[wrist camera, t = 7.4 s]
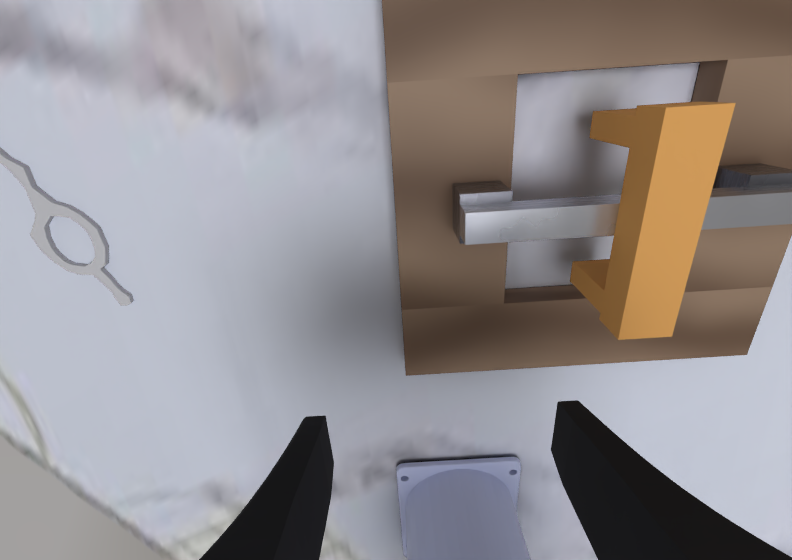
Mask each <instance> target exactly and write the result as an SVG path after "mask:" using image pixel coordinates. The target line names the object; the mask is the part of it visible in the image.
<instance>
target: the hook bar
mask: <svg viewBox="0 0 792 560" xmlns="http://www.w3.org/2000/svg"><path fill="white" fill-rule="evenodd" d="M512 196H513V191H512V190H511V189H510V188H508V187H507V186H506V185H505V184H504V183H502V182H501V181H500V180H497V181H481V182H466V183H453V230H454V232H455V235H456V237H457V239H458V241H459V243H460V244H465V245H471V244H487V243H503V242H518V241H534V240H549V239H565V238H581V237H596V236H612V235H614V233H615V227H616V222H617V216H618V210H619V205H620V199H621V194H618V195H602V196H587V197H571V198H556V199H541V200H525V201H512ZM783 224H792V169H787V168H782V167H777V166H772V165H767V164H762V163H756V164H740V165H725V166H718V170H717V173H716V177H715V181H714V184H713V188H712V192H711V195H710V199H709V203H708V206H707V210H706V214H705V217H704V221H703V225H702V228H701V230H705V229H721V228H737V227H752V226H768V225H783Z"/></svg>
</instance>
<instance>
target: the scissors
mask: <svg viewBox="0 0 792 560" xmlns="http://www.w3.org/2000/svg"><path fill="white" fill-rule="evenodd" d="M0 163H1V164H2V165H3V166H4V167H5V168H7V169H8V170H9V171H10V172H11V173H12V174H13V175H14V176H15V178H16V179H17V180H18V181H19V182H20V184H21V185H22V186H23V187H24V188H25V190H26V192H27V195H28V197H29V199H30V202H31V204H32V207H33V209H34V211H35V221H34V224H33V228H32V231H31V234H30V236H31V237H32V239H33V240H34V242H35V243H36V244H37V246H38V247H39V249H40V250H41V251H42V252H43V253H44V254H45V255H46V256H47V257H48V258H50V259H51V260H52V261H53V262H54V263H56V264H57V265H59V266H61V267H62V268H64V269H65V270H67V271H69V272H72V273H76V274H82V275H93V276H94V277H96V278H97V279H98V280H99V281H100V282H101V283H102V284H103V285H104V286H106V287H107V288H108V289H109V290H110V291H111V292H112V293H113V296H114V298H115V299H116V300H117V301H118V302H119V304H120V305H121V306H124V305H129V304H130V303H132V302H133V301H134V299H133V296H132V294H131V293H129V292H128V291H126V290H125V289H124V288H123V287H122V286H120V285H119V283H118V282H117V281H116V280H115V278H114V277H113V276H112V275H111V274H110V273H109V272H108V271H107V270H106V269H105V268H104V266H105V265H107V264H108V263H109V245H108V243H107V240H106V238H105V236H104V233H103V231H102V229H101V227H100V226H99V225H98V224H97V223H96V222H95V221H94V220H92V219H91V218H90V217H89V216H87V215H86V214H85V213H84V212H82V211H80V210H78V209H77V208H75V207H73V206H71V205H68V204H64V203H61V202H58V201H56V200H55V199H53V198H52V197H51V196H50V195H48V194H47V193H46V192H44V191H43V190H42V189H41V188H39V187H38V186H37V185H36V182H35V180H34V177H33V175H32V172H31V170H30V168H29V166H27V165H25V164H23V163H21V162H20V161H18V160H16V159H14V158H12V157H11V156H10V155H8V154H7V153H6V152H5V151H4V150H3V149H2V148H0ZM54 216H57V217H68V218H71V219H72V220H73V221H75V222H76V223H78V224H79V225H80V226H81V227H82V228H83V229H84V230H85V231H86V232H87V233H88V235H89V236H90V238H91V240H92V243H93V246H94V250H95V258H94V259H93V261H92V262H91V263H90V264H81V263H75V262H73V261H71V260H69V259H67V258H66V257H65V256H64V255H63V254H62V253H61V252H60V251H59V250H58V249H57V247H56V246H55V243H54V241H53V239H52V237H51V233H50V229H49V224H50V222H51V220H52V219H53V217H54Z"/></svg>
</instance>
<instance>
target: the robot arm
mask: <svg viewBox="0 0 792 560" xmlns="http://www.w3.org/2000/svg"><path fill="white" fill-rule="evenodd" d="M551 451H552V454H553V457H554V461H555V464H556V467H557V470H558V473H559V475H560V478H561V481H562V484H563V486H564V488H565V490H566V493H567V495H568V497H569V499H570V501H571V503H572V505H573V507H574V510H575V512H576V514H577V516H578V518H579V520H580V522H581V524H582V526H583V529H584V531H585V533H586V535H587V537H588V539H589V541H590V543H591V545H592V548H593V550H594V552H595V554H596V556H597V558H598V560H792V557H790V556H788V555H786V554H785V553H783V552H781V551H780V550H778V549H776V548H774V547H773V546H771V545H769V544H767V543H766V542H764V541H762V540H761V539H759V538H757V537H756V536H754V535H752V534H751V533H749V532H748V531H746V530H744V529H743V528H741V527H739V526H738V525H736V524H734V523H733V522H731V521H730V520H728V519H727V518H725V517H724V516H722V515H720V514H719V513H717V512H716V511H714V510H713V509H711V508H710V507H709V506H707V505H706V504H704V503H703V502H701V501H700V500H698V499H697V498H695V497H694V496H693V495H691V494H690V493H688V492H687V491H685V490H684V489H683V488H681V487H680V486H679V485H677V484H676V483H675V482H673V481H672V480H671V479H669V478H668V477H667V476H665V475H664V474H663V473H662V472H660V471H659V470H658V469H656V468H655V467H654V466H653V465H651V464H650V463H649V462H648V461H646V460H645V459H644V458H643V457H641V456H640V455H639V454H638V453H637V452H636V451H634V450H633V449H632V448H631V447H630V446H628V445H627V444H626V443H625V442H624V441H623V440H621V439H620V438H619V437H618V436H617V435H616V434H615V433H613V432H612V431H611V430H610V429H609V428H608V427H607V426H606V425H604V424H603V423H602V422H601V421H600V420H599V419H598V418H597V417H596V416H594V415H593V414H592V413H591V412H590V411H589V410H588V409H587V408H586V407H584V406H583V405H582V404H581V403H580V402H579V401H561V402H558V404H557V411H556V418H555V425H554V433H553V440H552V447H551ZM333 467H334V461H333V455H332V450H331V444H330V438H329V433H328V427H327V422H326V416H312V417H305V418H304V419H303V421H302V422H301V424H300V426H299V428H298V429H297V431H296V433H295V435H294V436H293V438H292V440H291V441H290V443H289V445H288V446H287V448H286V449H285V451H284V453H283V454H282V456H281V457H280V459H279V460H278V462H277V463H276V465H275V466H274V468H273V469H272V471H271V472H270V474H269V475H268V477H267V478H266V480H265V481H264V482H263V484H262V485H261V486H260V488H259V489H258V490H257V492H256V493H255V494H254V496H253V497H252V499H251V500H250V501H249V503H248V504H247V505H246V506H245V508H244V509H243V510H242V511H241V513H240V514H239V515H238V516H237V518H236V519H235V520H234V521H233V523H232V524H231V525H230V526H229V527H228V528H227V530H226V531H225V532H224V533H223V534H222V535H221V537H220V538H219V539H218V540H217V541H216V542H215V543H214V544H213V545H212V546H211V547H210V549H209V550H208V551H207V552H206V553H205V554H204V555H203V556H202V557H201V558H200V559H199V560H319V557H320V552H321V546H322V541H323V536H324V531H325V526H326V521H327V515H328V510H329V505H330V499H331V491H332V480H333ZM520 472H521V463H520V460H519V459H518V458H516V457H499V458H482V459H465V460H448V461H431V462H414V463H402V464H399V465H398V466H397V468H396V474H397V485H398V497H399V508H400V520H401V531H402V543H403V554H404V556H405V557H406V558H408V560H531V559H530V556H529V553H528V549H527V546H526V543H525V540H524V536H523V533H522V530H521V526H520V523H519V520H518V516H517V513H516V512H517V502H518V492H519V482H520Z"/></svg>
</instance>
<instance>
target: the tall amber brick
mask: <svg viewBox="0 0 792 560" xmlns="http://www.w3.org/2000/svg"><path fill="white" fill-rule="evenodd" d="M735 104H736V103H724V102H685V103H670V104H656V105H641V106H637V108H635V109H620V110H605V111H593V115H592V123H591V130H590V137H589V138H591V139H595V140H600V141H604V142H608V143H612V144H616V145H620V146H625V147H629V148H630V149H629V154H628V160H627V165H626V171H625V177H624V182H623V188H622V194H621V199H620V205H619V210H618V216H617V222H616V227H615V233H614V239H613V244H612V250H611V255H610V259H604V260H588V261H573V263H572V270H571V277H570V282H571V283H572V284H573V285H574V286H575V287H576V288H577V289H578V290H579V291H580V292H581V293H582V294H583V295H584V296H585V297H586V298H587V299H588V300H589V302H590V303H591V304H592V305H593V306H594V307H595V308H596V309H597V310H598V311H599V312H600V317H599V320H600V321H601V322H602V323H603V324H604V325H605V326H606V327H607V328H608V329H609V331H610V332H611V333H612V334H613V335H614V336H615V337H616V338H617V339H618V340H625V339H641V338H658V337H672V335H673V331H674V327H675V324H676V320H677V316H678V313H679V309H680V305H681V302H682V298H683V294H684V291H685V287H686V283H687V280H688V276H689V272H690V269H691V265H692V261H693V258H694V254H695V250H696V247H697V243H698V239H699V236H700V232H701V228H702V225H703V221H704V217H705V214H706V210H707V206H708V203H709V199H710V195H711V192H712V188H713V184H714V181H715V177H716V173H717V170H718V166H719V162H720V159H721V155H722V151H723V148H724V144H725V140H726V137H727V133H728V129H729V126H730V122H731V118H732V115H733V111H734V107H735Z"/></svg>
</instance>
